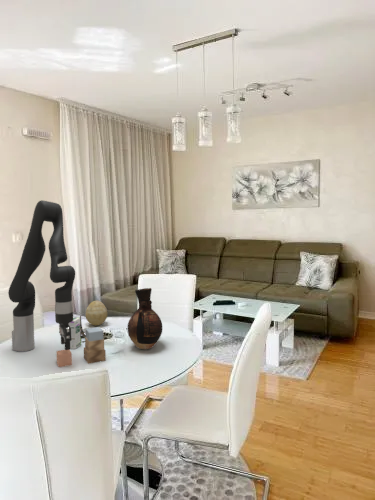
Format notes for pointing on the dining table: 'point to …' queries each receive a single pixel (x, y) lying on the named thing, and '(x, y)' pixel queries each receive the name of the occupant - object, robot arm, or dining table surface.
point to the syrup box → (75, 333)
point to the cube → (64, 358)
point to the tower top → (94, 334)
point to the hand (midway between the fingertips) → (65, 346)
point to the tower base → (94, 356)
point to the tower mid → (94, 345)
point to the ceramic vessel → (144, 322)
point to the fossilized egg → (96, 313)
